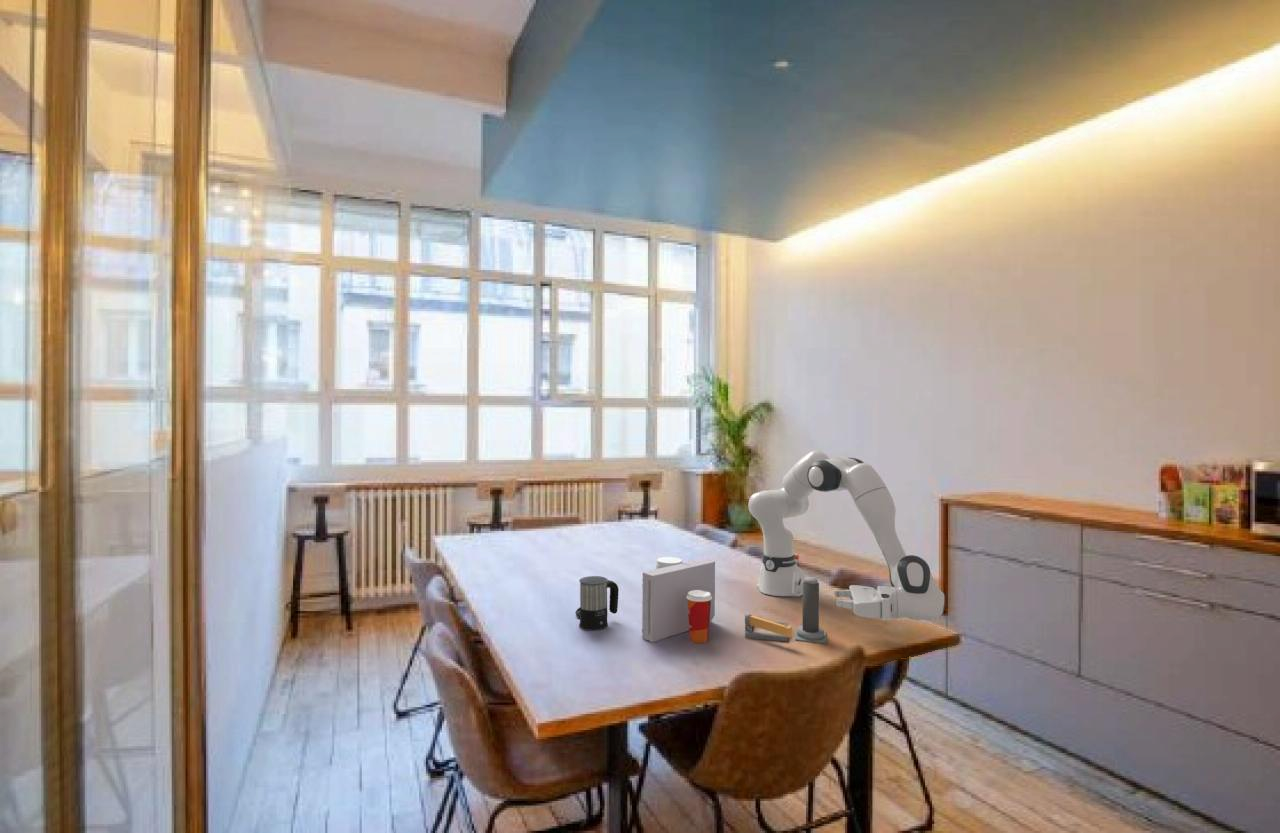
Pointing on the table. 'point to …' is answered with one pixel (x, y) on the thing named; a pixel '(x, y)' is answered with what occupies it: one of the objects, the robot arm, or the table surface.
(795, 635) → the pad
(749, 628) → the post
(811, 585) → the plug
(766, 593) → the robot arm
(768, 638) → the gray angle bracket
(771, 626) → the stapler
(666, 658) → the table surface
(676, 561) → the supplement tub
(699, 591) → the paper cup
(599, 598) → the milk frother
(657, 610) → the game console
